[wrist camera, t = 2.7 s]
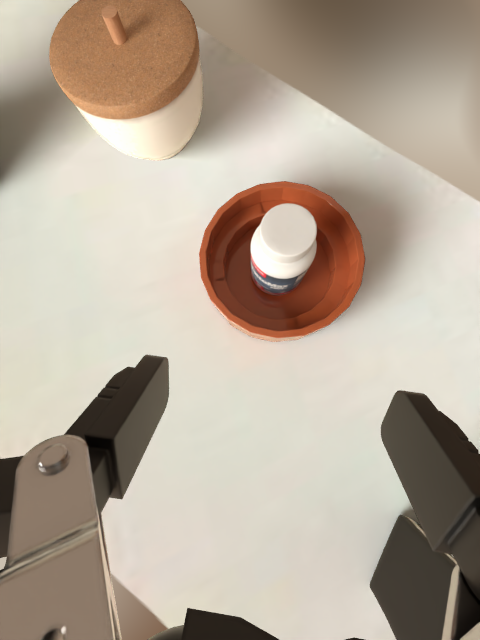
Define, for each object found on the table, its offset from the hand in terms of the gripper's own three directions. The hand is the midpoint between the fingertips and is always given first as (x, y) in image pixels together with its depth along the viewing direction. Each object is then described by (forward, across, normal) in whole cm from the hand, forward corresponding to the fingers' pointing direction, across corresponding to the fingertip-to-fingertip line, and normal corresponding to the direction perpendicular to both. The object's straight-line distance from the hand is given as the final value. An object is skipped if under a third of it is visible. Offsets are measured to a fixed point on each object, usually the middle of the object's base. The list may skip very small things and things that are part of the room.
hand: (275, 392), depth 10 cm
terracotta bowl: (+20, -1, +1) cm, 20 cm away
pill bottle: (+20, -1, +1) cm, 20 cm away
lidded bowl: (+29, +15, -11) cm, 34 cm away
